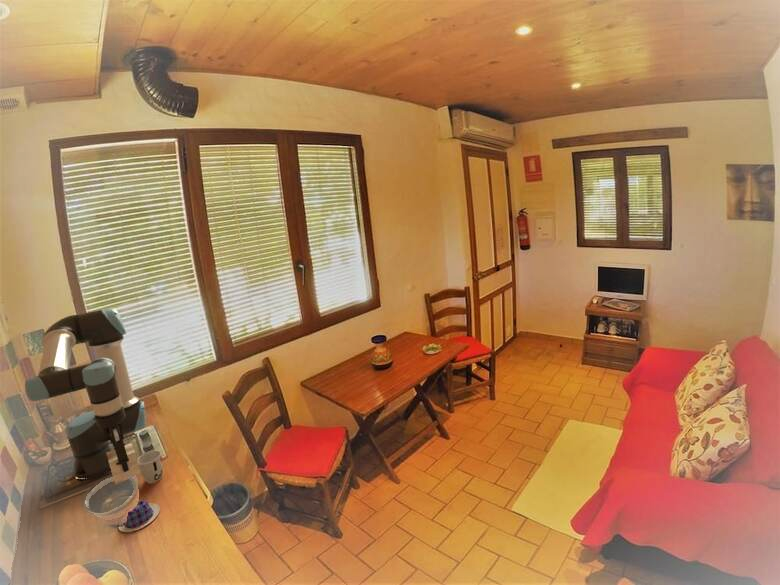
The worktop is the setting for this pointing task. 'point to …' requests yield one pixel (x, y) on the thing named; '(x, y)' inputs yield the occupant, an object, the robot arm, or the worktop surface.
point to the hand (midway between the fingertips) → (126, 472)
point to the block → (115, 468)
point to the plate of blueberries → (140, 516)
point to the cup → (151, 466)
